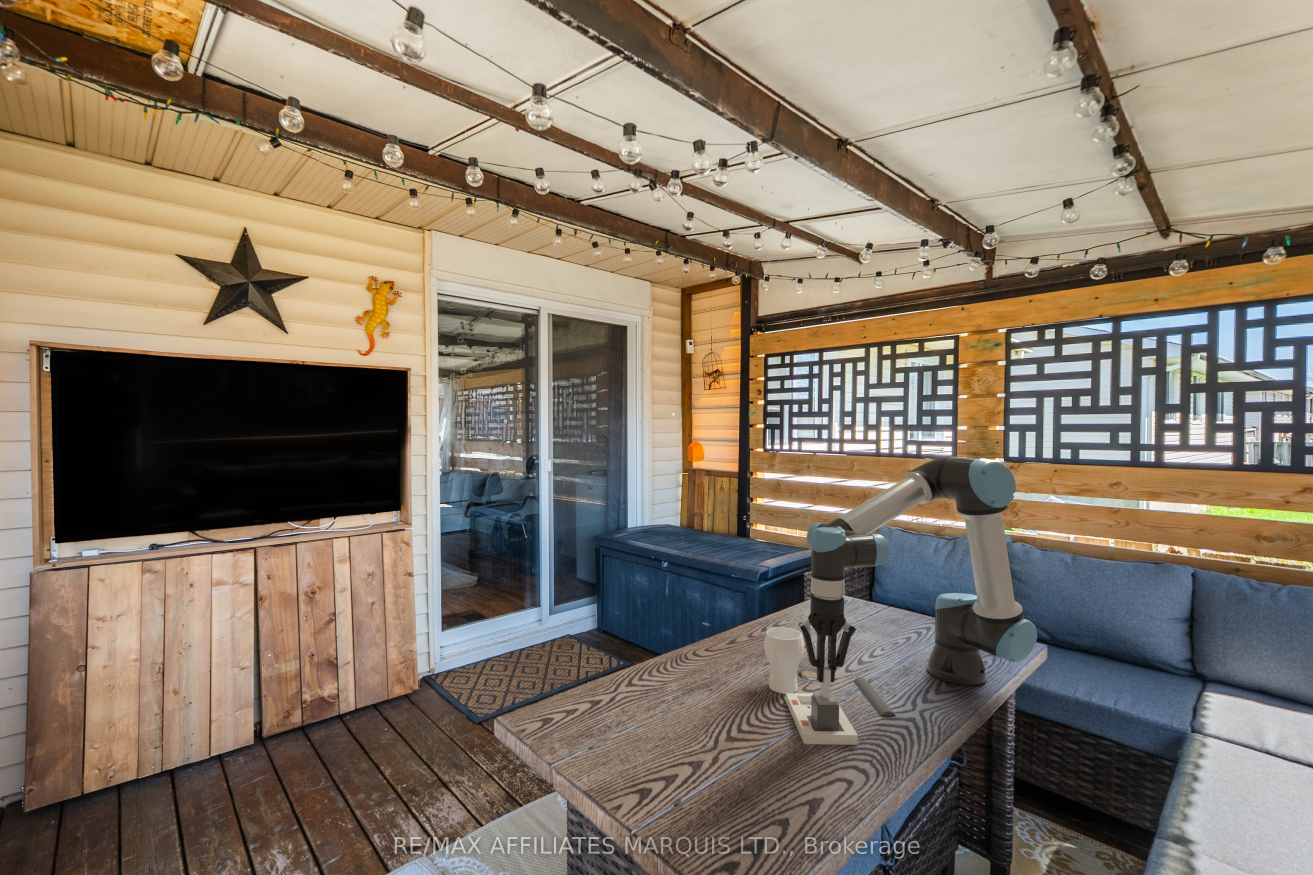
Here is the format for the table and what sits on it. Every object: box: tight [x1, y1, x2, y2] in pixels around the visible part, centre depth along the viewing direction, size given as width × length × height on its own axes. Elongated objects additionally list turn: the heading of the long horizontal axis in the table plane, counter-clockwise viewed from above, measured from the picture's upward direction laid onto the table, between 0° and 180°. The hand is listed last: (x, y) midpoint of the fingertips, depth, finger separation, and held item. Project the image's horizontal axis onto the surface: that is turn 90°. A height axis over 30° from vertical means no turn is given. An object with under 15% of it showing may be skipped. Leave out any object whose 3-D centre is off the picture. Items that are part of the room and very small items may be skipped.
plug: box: [811, 692, 840, 731], centre depth 138 cm, size 5×5×8 cm
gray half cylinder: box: [853, 676, 897, 717], centre depth 155 cm, size 4×20×2 cm, turn 1°
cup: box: [763, 626, 805, 695], centre depth 160 cm, size 11×11×15 cm
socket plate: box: [785, 692, 859, 746], centre depth 143 cm, size 12×20×2 cm, turn 179°
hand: (825, 694), depth 137 cm, fingers closed
